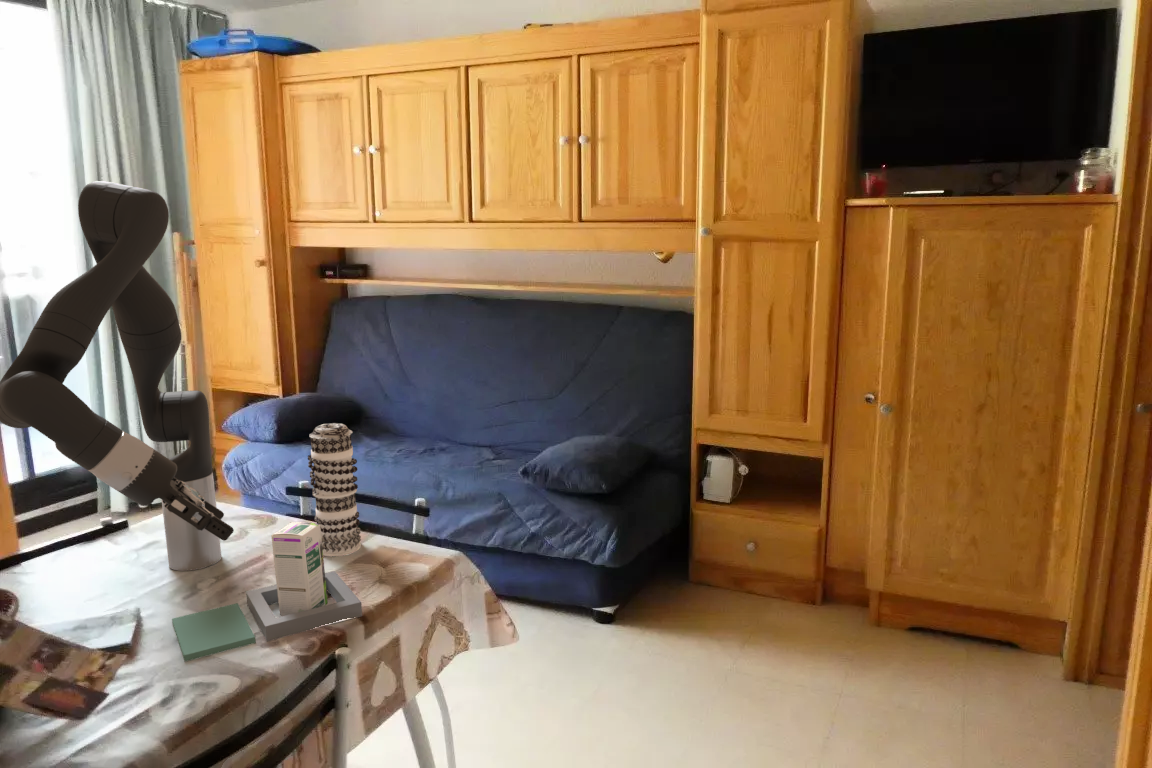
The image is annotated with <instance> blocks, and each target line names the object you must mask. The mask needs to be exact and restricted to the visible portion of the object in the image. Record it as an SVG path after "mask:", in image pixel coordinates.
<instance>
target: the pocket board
mask: <svg viewBox="0 0 1152 768" xmlns="http://www.w3.org/2000/svg"><path fill="white" fill-rule="evenodd" d="M325 580H326V590H328V591H327V593H329V595H330V594H331V595H330V596H331V597H332V598H333V600H334V599H335V600H334V601H335V602H334V603H330V604H327V605H325V606H321V607H317V608H313V609H309V610H305V611H301V612H297V613H293V614H290V615H286V616H278V617H276V616H275V614H274V612H273V611H272V609H271V607H270V605H275V604H279V602H278V592H277V583H276V584H272V585H267V586H264V587H259V588H254V589H251V590H246V591H245V598H246V605H247V607H248V610H249V611H250V613H251V616H252V617H253V619H254V621H255V623H256V624H257V626H258V628H259V630H260V632H261V634H262V635H263V637H264V639H265V642H271V641H273V640H279V639H281V638H284V637H289V636H293V635H296V634H300V633H304V632H307V631H306V630H308V631H311V630H310V629H312V630H314V629H313V628H315V627H319V626H321V625H325V624H329V623H333V622H336V621H339V620H342V619H347V618H353V619H355V618H354V617H357V618H361V617H363V608H362V601H361V600H360V599H359V597H358V596H357V595H356V594H355V593H354V592H353V590H351V588H350V586H348V584H347V583H346V582H345V581H344V580H343V579H342V578H341V577H340V575H338V573H337V572H336V571H335V570H332V571H327V572H325ZM319 628H320V627H319Z"/></svg>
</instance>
